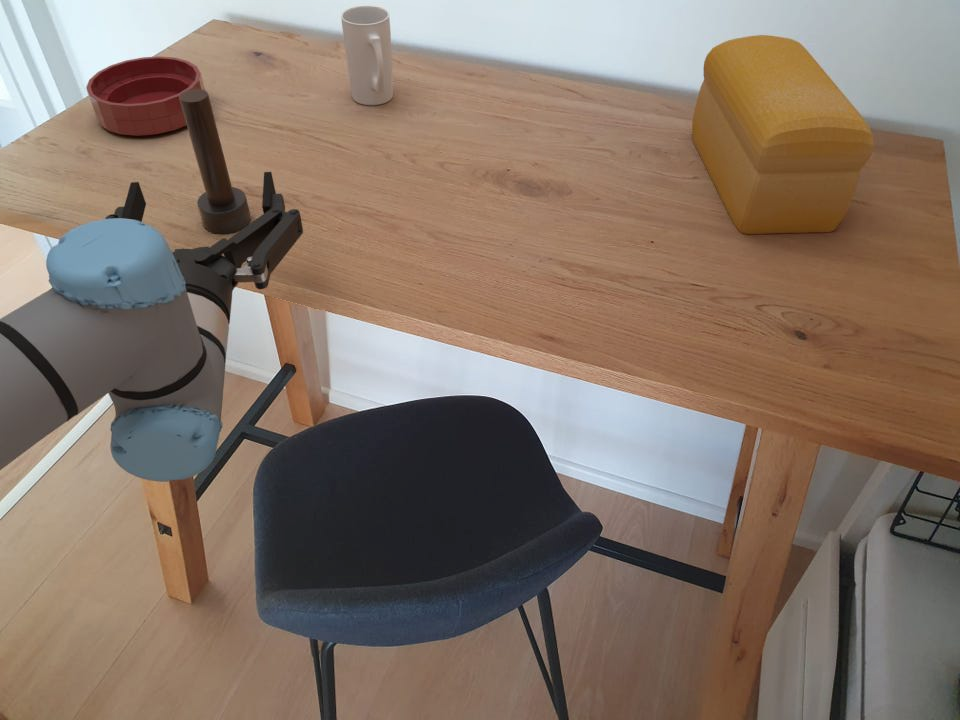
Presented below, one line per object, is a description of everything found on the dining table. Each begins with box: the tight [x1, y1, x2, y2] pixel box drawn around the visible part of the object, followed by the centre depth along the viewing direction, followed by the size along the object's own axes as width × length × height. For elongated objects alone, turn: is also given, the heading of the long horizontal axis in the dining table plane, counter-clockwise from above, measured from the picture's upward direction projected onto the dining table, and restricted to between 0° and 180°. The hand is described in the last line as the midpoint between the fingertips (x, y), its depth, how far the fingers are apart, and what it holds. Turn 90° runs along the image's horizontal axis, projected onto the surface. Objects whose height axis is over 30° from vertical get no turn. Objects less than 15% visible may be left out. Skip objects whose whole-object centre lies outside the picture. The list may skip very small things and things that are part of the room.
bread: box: [691, 34, 875, 235], centre depth 95 cm, size 24×13×15 cm, turn 3°
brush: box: [179, 89, 252, 235], centre depth 87 cm, size 6×6×16 cm
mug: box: [340, 5, 394, 106], centre depth 110 cm, size 10×7×12 cm, turn 21°
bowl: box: [85, 55, 206, 137], centre depth 109 cm, size 15×15×5 cm
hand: (205, 187), depth 82 cm, fingers open, 13 cm apart
